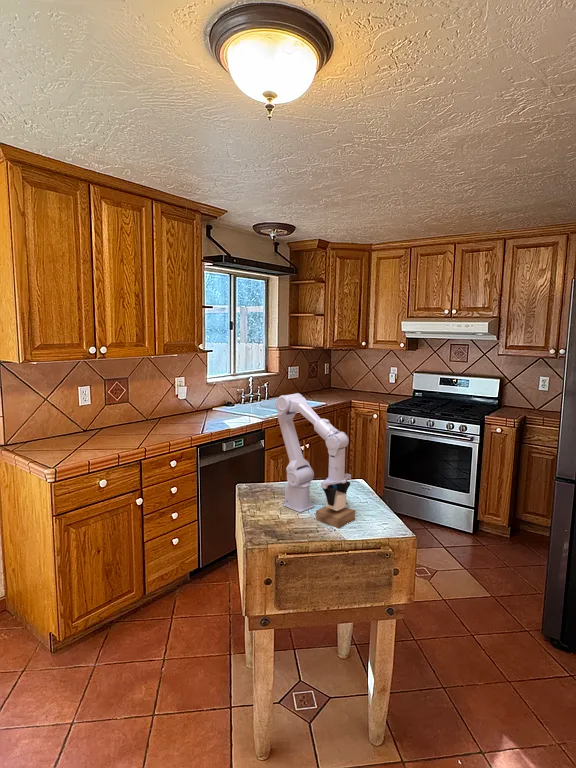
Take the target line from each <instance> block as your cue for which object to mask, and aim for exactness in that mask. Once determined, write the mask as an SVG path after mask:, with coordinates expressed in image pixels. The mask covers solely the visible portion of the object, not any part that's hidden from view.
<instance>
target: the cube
mask: <svg viewBox="0 0 576 768" xmlns="http://www.w3.org/2000/svg"><path fill="white" fill-rule="evenodd" d="M325 499H326V502H325V505H326V507H328V508H330V509H333V510H336V511H338V510H340V509H343V508H345V507H347V493H346V494H345V493H342V492H339V491H336V494H335V500H334V506H331V505H328V501H327V497H326V496H325Z"/></svg>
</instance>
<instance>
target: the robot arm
mask: <svg viewBox="0 0 576 768" xmlns="http://www.w3.org/2000/svg"><path fill="white" fill-rule="evenodd" d="M275 407H276V411H277V420H278V424H279V427H280V432H281V435H282V438H283V443H284V446H285V450H286V454H287V457H288V460H289V462H288V465H287V466H286V468H285V471H286V480H287V484H286V485H285V489H284V503H283V505H284V507H285V508H289V509H291V510H294V511H295V512H298V513H303V512H305V511H307V510H310V509H312V508H315V506H314V504H310V494H311V493H310V490H311V489H310V487H311V484H312V483H311V482H312V480H314V478H315V477H314V476H315V473H314V470H313V468H312V466H311V465H310V462H309V461H308V460H307V459H305V458H304V455H303V451H302V449H301V444H300V441H299V437H298V434H297V430H296V427H295V423H294V422H295V421H294V418H295V416H296V415H297V414H300V415H301V416H302V417H303V418H305V419H306V420H307V421H308V422H310V423H311V424H312V425H313V431H314V432H316V433H317V435H319V436H320V437H321V438H322V439H323V441H325V446H326V448H327V453H328V476H327V478H326V479H324V480H323V481H321V482H320V488H322V490H323V492H324V494H325V498H326V497H327V501H328V505H331V506H334V500H335V494H336V491H339V492H342V493H345V494H346V495H347V493H348V492H347V491H348V489H349V487H350V486H351V482H350V481H351V480H352V474H350V473H347V472H346V471H345V470H346V447H347V446H348V445H349V441H350V440H349V436H348V435H347V434H346V432H344V431H339V429H337V428H335V426H333V424H331V422H330V420H329V419H326V418H321V417H320V416H319V415H318V414H317V413H316V412H315V411H314V410H313V408H312V407H311V406H310V405H309V404H308V403H307V400H306V398H305V396H303V395H302V394H301V393H299V392H297V393H293V394H292V393H291V394H285V395H284V394H282V395H279V397H278V398H277V400H276V402H275ZM345 472H346V473H345ZM335 484H336V486H337V488H334V486H333V485H335ZM346 492H347V493H346Z"/></svg>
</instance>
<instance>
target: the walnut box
mask: <svg viewBox="0 0 576 768" xmlns="http://www.w3.org/2000/svg"><path fill="white" fill-rule="evenodd" d="M353 520H354V521H355V520H356V509H353V508H349V507H347V506H346V507H345V508H343V509H340V510H338V511H336V510H333V509H330V508H328V507H326V506H323V507H321V508H319V509H317V510H316V511H315V521H317V522H319V523H323V524H325V525H328V526H330V527H333V528H335V527H336V529H340V528H342V526H343V527H344V526H346V525H348V524H350V523H352V522H354V521H353ZM351 521H352V522H351ZM349 522H350V523H349ZM347 523H348V524H347Z"/></svg>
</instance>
